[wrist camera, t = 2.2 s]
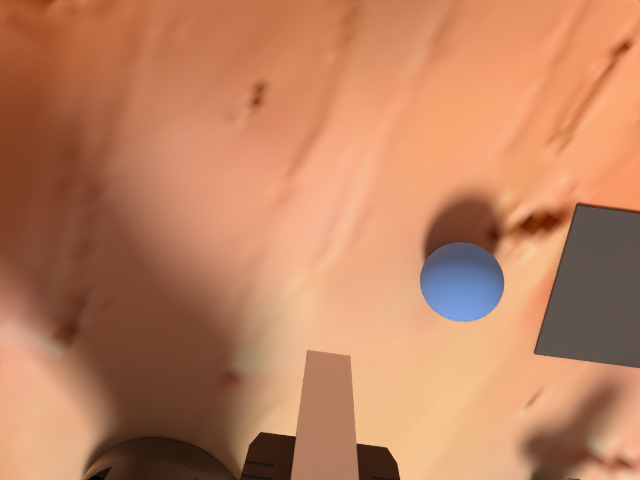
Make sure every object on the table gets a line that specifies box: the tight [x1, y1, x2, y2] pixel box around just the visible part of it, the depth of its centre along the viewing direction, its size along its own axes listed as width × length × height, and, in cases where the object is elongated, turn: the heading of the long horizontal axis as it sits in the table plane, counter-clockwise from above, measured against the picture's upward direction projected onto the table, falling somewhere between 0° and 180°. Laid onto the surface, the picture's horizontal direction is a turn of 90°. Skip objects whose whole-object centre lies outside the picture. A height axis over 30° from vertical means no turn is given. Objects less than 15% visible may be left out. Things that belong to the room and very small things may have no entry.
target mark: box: [534, 205, 640, 368], centre depth 31 cm, size 12×12×1 cm
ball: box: [420, 242, 504, 322], centre depth 29 cm, size 6×6×6 cm
